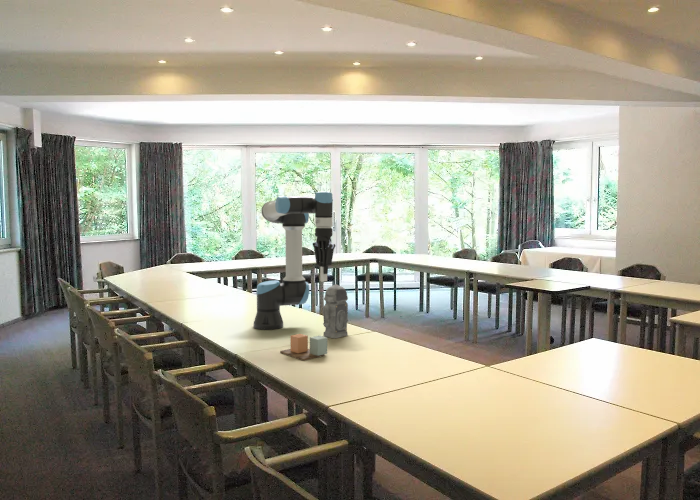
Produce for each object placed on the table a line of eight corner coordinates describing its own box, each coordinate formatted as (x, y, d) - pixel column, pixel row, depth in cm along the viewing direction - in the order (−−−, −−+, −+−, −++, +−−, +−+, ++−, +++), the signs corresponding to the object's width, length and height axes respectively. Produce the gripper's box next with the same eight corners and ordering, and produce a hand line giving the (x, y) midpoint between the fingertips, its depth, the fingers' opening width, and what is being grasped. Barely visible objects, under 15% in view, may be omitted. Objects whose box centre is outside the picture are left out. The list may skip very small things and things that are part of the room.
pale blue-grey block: (309, 353, 233) (309, 337, 232) (319, 351, 236) (319, 335, 236) (317, 355, 229) (317, 339, 229) (327, 353, 233) (327, 337, 232)
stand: (280, 352, 237) (280, 350, 237) (300, 348, 244) (300, 346, 244) (303, 360, 225) (303, 358, 225) (324, 355, 232) (324, 353, 232)
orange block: (290, 350, 236) (290, 335, 235) (300, 348, 239) (300, 333, 239) (298, 353, 232) (298, 337, 232) (307, 351, 236) (307, 335, 235)
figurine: (352, 334, 270) (352, 283, 268) (331, 339, 260) (331, 286, 258) (338, 331, 277) (338, 281, 275) (317, 336, 266) (317, 284, 264)
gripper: (307, 227, 244) (307, 280, 246) (326, 228, 235) (326, 283, 237) (320, 226, 249) (320, 278, 251) (340, 227, 240) (340, 282, 242)
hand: (323, 281), depth 244 cm, fingers closed
